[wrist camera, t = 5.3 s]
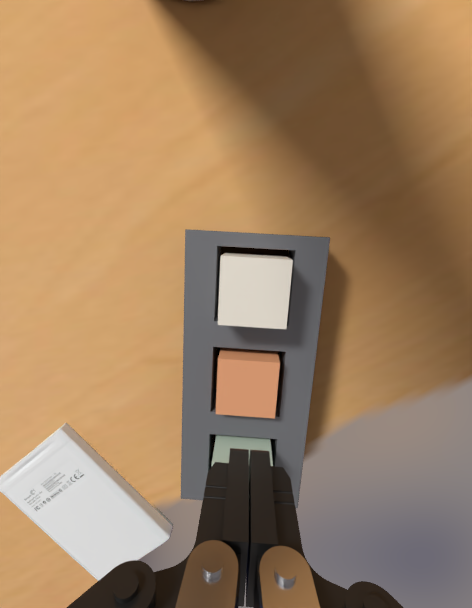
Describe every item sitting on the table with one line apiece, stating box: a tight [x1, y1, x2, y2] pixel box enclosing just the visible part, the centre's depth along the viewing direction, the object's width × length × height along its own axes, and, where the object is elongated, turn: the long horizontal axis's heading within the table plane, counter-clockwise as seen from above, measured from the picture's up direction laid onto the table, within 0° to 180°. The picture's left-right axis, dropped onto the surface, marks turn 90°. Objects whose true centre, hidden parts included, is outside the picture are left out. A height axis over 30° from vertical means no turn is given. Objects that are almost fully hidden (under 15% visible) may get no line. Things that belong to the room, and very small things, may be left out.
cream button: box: [218, 252, 293, 329], centre depth 17 cm, size 4×4×3 cm
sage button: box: [211, 435, 273, 467], centre depth 20 cm, size 4×4×3 cm
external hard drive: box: [0, 423, 173, 581], centre depth 25 cm, size 2×8×12 cm
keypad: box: [181, 230, 330, 508], centre depth 20 cm, size 18×8×3 cm, turn 177°
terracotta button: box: [216, 347, 280, 419], centre depth 20 cm, size 4×4×3 cm
